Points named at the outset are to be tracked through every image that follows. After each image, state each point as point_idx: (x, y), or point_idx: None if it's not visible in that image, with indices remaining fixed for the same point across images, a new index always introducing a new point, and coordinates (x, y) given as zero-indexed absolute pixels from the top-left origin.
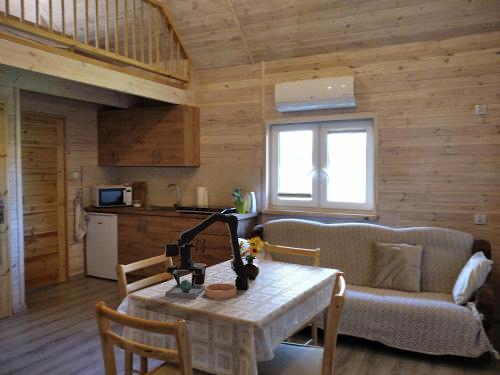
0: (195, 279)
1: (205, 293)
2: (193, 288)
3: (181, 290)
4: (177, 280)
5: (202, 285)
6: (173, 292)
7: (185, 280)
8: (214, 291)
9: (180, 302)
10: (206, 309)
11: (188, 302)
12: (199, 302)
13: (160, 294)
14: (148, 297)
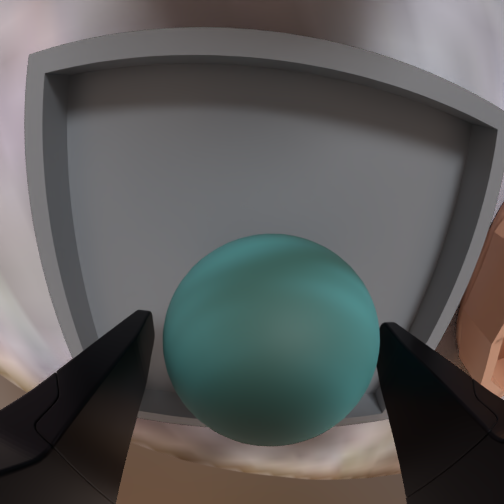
0: (476, 392)
1: (464, 336)
2: (351, 101)
3: (182, 228)
4: (121, 447)
5: (489, 110)
6: (167, 417)
7: (277, 440)
8: (501, 396)
9: (272, 453)
10: (395, 464)
11: (321, 447)
12: (384, 434)
13: (40, 333)
14: (29, 383)
